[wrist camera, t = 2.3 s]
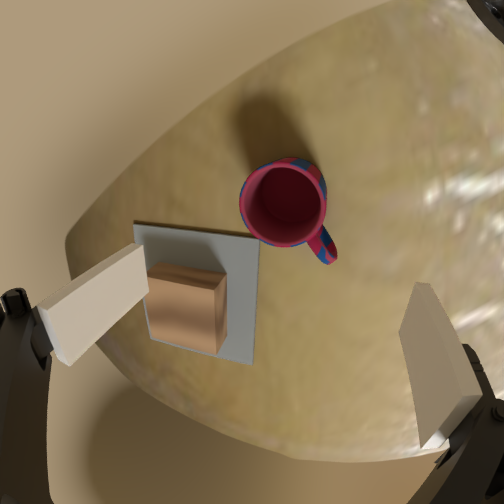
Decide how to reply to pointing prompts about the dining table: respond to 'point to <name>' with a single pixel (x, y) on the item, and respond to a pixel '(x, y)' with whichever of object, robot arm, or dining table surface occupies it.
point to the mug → (288, 206)
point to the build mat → (219, 260)
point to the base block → (187, 306)
